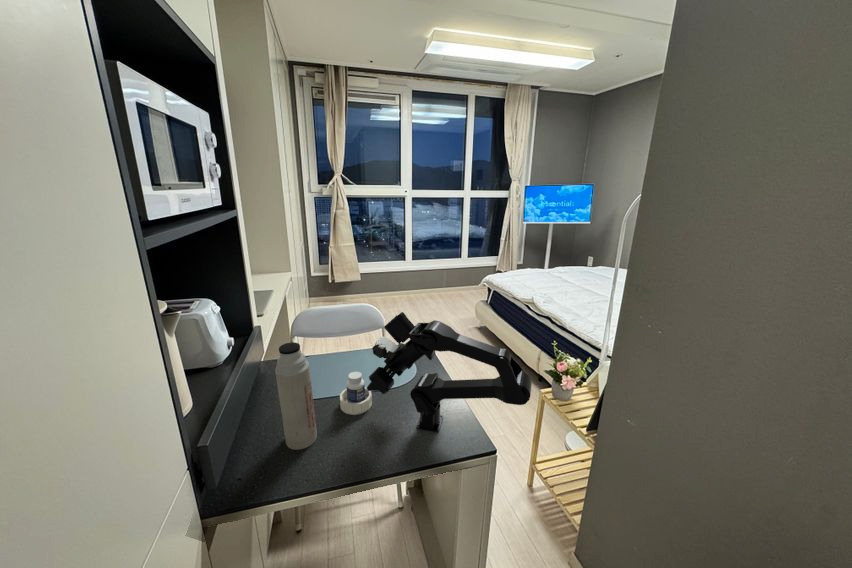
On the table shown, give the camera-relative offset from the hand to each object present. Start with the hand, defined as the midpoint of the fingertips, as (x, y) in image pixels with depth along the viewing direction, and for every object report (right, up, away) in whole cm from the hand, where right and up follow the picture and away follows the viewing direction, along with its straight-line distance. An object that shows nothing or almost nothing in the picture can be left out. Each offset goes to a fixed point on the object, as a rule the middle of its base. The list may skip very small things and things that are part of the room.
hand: (375, 380), depth 102 cm
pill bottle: (-6, -8, +5) cm, 12 cm away
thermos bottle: (-19, -14, -8) cm, 25 cm away
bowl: (-7, -9, +5) cm, 12 cm away
